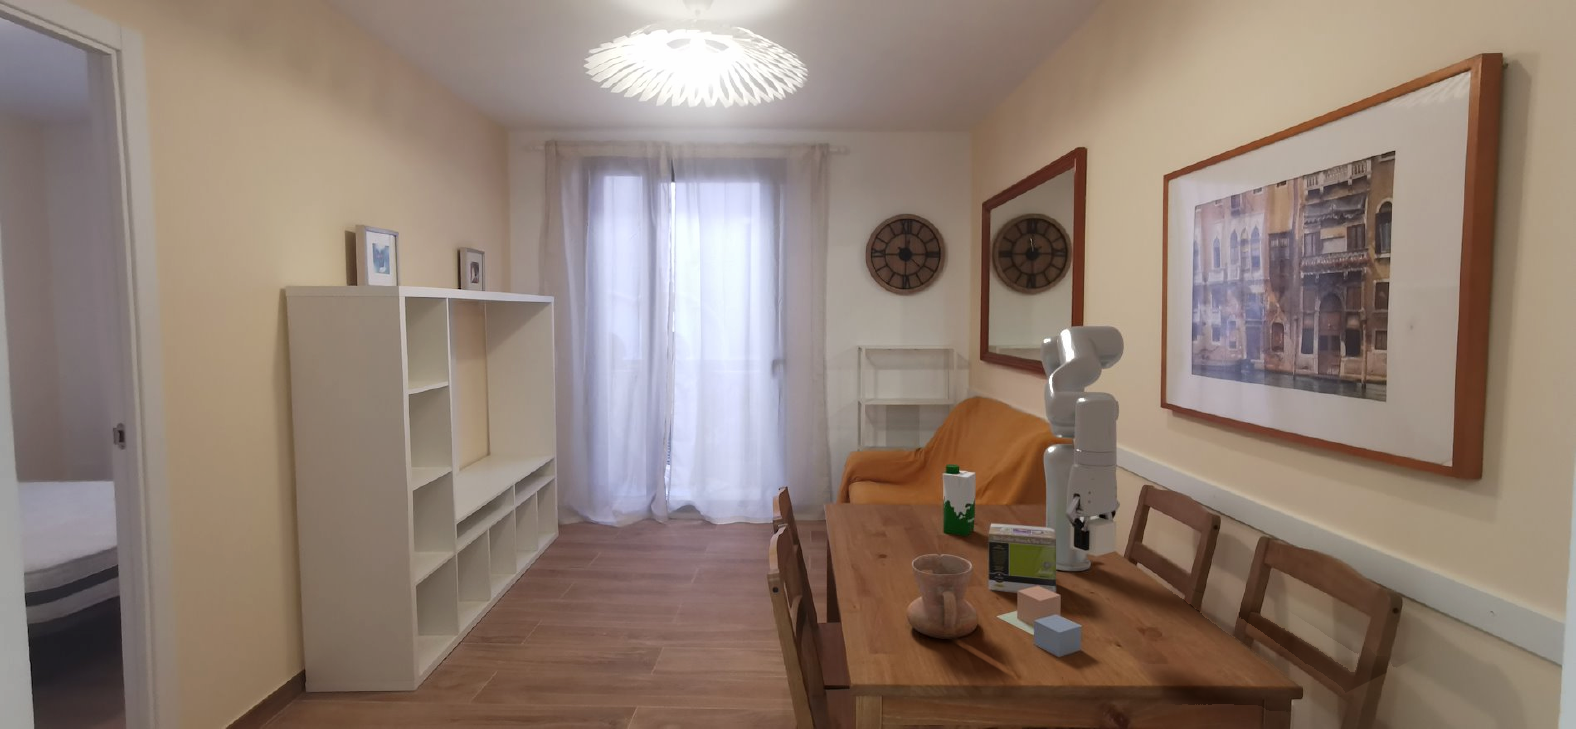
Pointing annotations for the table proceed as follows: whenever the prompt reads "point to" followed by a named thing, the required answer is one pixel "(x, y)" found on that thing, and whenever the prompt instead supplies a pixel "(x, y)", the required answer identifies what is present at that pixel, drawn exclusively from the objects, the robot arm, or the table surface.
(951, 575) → the ceramic jug
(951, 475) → the milk carton
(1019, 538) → the tea box
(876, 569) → the table surface
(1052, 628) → the slate brick
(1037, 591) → the terracotta brick
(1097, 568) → the table surface
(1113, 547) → the cream brick
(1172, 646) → the table surface
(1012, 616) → the plate
